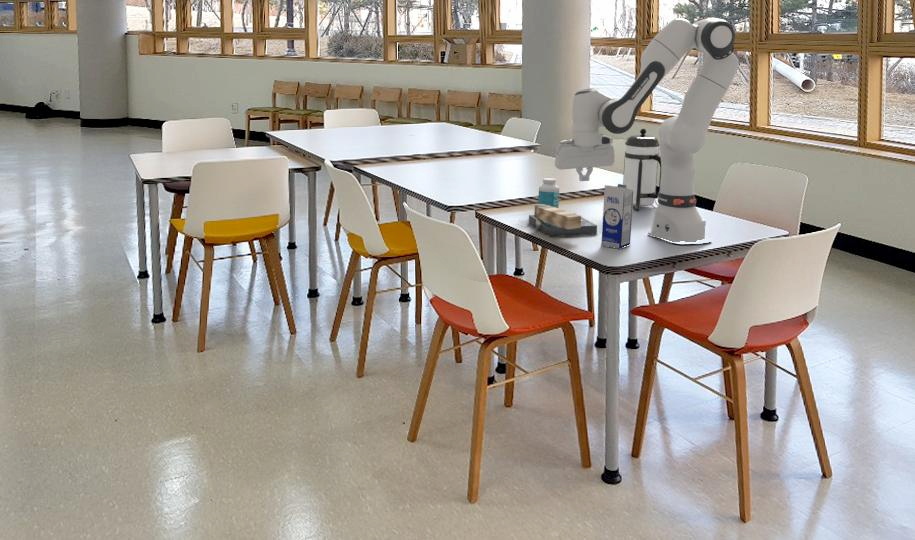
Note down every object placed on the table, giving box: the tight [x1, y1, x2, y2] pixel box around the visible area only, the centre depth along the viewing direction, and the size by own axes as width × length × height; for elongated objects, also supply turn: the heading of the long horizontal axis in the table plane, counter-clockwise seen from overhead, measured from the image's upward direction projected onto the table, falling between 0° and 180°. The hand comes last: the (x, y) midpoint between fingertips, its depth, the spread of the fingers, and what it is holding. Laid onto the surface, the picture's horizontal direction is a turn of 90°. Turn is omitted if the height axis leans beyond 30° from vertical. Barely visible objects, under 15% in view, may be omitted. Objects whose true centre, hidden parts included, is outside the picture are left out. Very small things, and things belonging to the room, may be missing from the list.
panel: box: [528, 212, 598, 238], centre depth 327 cm, size 20×18×4 cm
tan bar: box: [533, 203, 582, 229], centre depth 317 cm, size 21×5×4 cm, turn 30°
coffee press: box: [622, 128, 661, 212], centre depth 360 cm, size 17×16×30 cm
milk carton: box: [600, 183, 634, 249], centre depth 304 cm, size 7×7×20 cm
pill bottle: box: [538, 177, 560, 209], centre depth 347 cm, size 8×7×14 cm
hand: (584, 180), depth 316 cm, fingers closed
